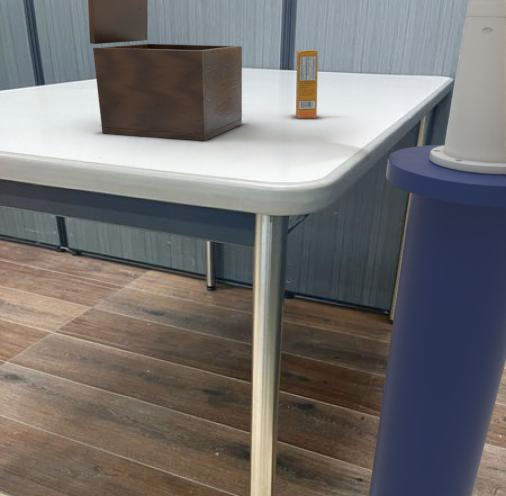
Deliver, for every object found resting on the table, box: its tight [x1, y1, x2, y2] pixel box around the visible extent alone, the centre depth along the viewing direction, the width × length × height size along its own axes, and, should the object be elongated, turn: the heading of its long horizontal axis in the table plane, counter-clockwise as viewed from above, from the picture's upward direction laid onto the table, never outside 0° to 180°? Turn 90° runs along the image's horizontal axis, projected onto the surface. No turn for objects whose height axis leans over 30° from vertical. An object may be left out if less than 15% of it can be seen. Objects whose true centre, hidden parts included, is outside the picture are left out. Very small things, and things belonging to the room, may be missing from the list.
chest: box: [92, 43, 243, 142], centre depth 84 cm, size 16×15×11 cm
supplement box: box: [295, 49, 319, 120], centre depth 95 cm, size 3×3×10 cm
